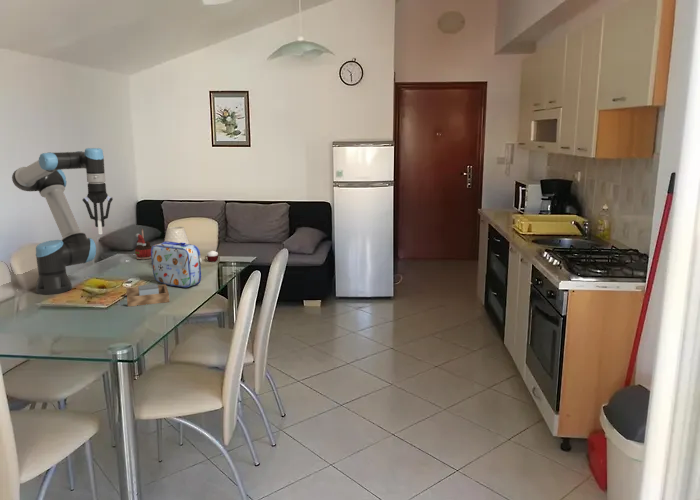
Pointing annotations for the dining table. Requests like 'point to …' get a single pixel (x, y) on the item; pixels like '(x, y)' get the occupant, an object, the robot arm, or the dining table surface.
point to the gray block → (148, 289)
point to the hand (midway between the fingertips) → (100, 233)
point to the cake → (142, 248)
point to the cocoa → (213, 255)
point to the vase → (176, 235)
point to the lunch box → (176, 264)
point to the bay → (147, 296)
